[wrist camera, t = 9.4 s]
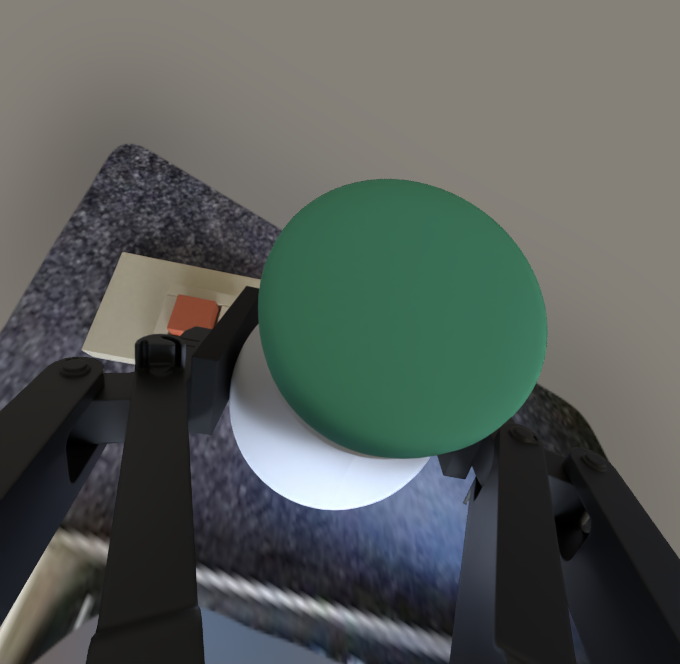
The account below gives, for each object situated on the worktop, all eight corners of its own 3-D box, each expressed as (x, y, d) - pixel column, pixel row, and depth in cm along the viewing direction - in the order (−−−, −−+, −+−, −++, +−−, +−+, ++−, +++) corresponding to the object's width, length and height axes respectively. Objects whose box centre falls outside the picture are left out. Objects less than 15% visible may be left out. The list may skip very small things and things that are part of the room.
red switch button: (172, 335, 32) (166, 328, 31) (183, 302, 34) (178, 293, 32) (209, 342, 33) (205, 335, 31) (219, 309, 34) (215, 301, 32)
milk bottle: (376, 376, 26) (615, 144, 7) (367, 498, 23) (711, 628, 5) (263, 360, 25) (208, 57, 7) (240, 484, 22) (33, 571, 4)
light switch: (93, 357, 34) (69, 343, 31) (131, 263, 38) (114, 241, 34) (245, 384, 35) (241, 374, 32) (268, 290, 39) (267, 272, 35)
